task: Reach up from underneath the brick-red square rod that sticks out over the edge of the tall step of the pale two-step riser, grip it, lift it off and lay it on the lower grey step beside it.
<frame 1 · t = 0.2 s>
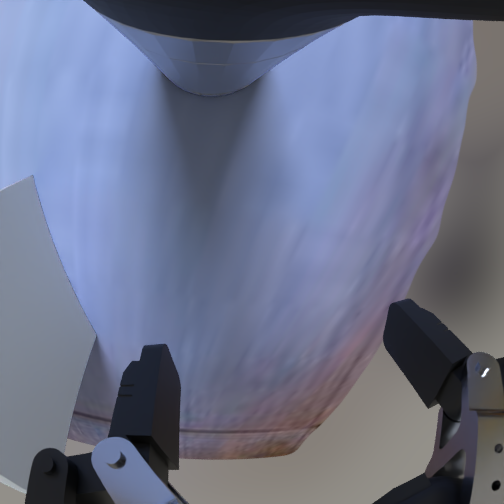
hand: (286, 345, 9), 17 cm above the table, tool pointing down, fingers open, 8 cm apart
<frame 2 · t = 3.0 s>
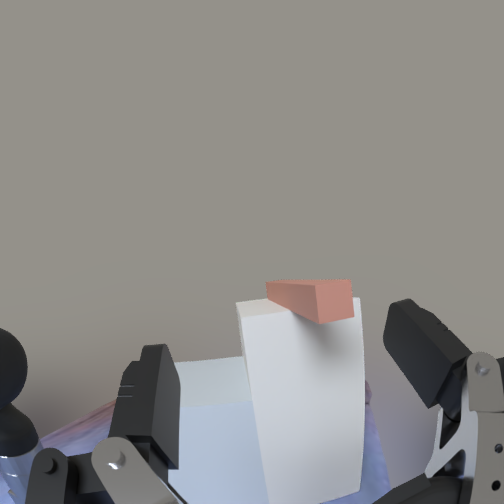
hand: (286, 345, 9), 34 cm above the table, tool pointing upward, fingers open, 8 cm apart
rod: (295, 305, 34), point 32 cm above the table, touching riser
riser: (263, 478, 37), on the table
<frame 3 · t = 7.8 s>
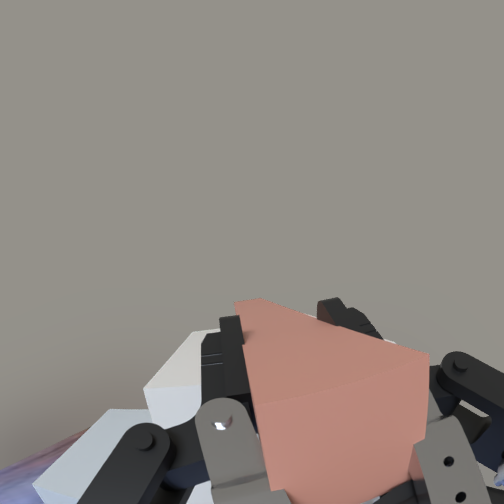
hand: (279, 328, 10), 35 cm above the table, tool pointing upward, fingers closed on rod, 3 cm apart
rod: (266, 355, 17), point 32 cm above the table, touching gripper, riser
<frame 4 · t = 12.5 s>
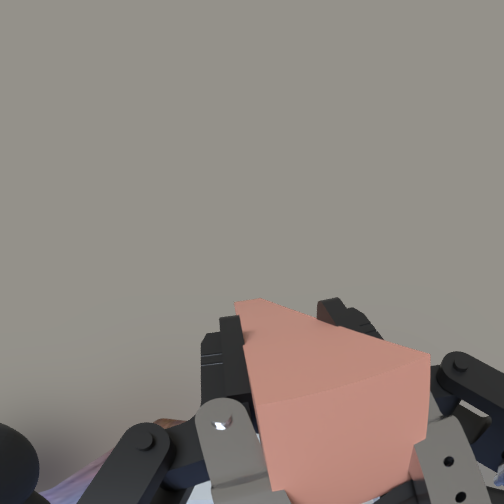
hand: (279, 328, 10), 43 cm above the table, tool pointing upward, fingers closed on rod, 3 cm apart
rod: (267, 355, 17), point 40 cm above the table, touching gripper
when the fingers open (26 cm above the table, at t = 17.5 s): rod drops 1 cm, resting on riser.
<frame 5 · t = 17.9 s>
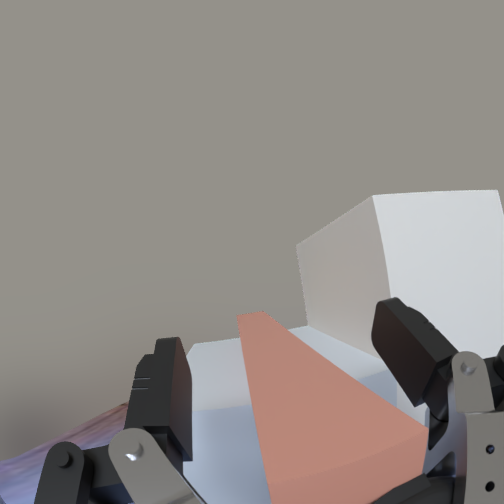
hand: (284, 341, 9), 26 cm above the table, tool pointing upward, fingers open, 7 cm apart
rod: (270, 377, 17), point 22 cm above the table, touching riser
riser: (344, 501, 21), on the table
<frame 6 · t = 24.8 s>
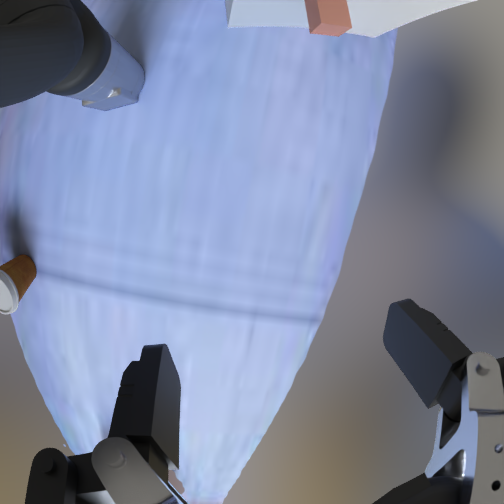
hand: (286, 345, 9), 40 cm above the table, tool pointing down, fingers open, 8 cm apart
disposable coffee cup: (26, 267, 46), on the table
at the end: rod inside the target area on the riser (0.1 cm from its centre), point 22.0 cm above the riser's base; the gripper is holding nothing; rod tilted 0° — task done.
